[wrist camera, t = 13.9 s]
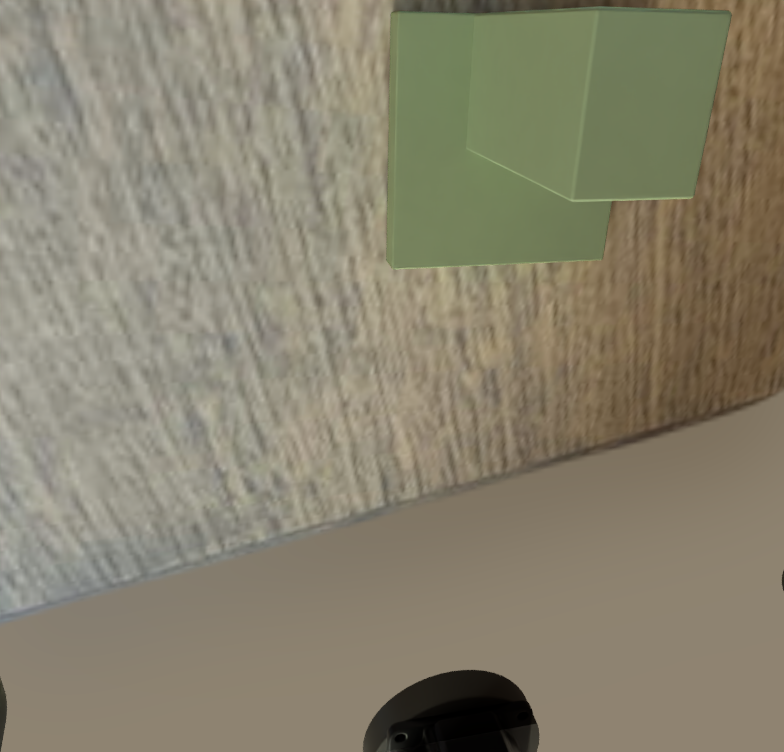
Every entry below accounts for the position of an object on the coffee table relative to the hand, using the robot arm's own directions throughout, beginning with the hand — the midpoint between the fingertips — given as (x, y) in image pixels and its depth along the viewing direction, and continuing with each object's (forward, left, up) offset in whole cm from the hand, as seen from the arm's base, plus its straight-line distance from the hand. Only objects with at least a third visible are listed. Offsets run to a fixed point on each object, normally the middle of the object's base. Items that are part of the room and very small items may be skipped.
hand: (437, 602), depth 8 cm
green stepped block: (+3, -5, -12) cm, 14 cm away
